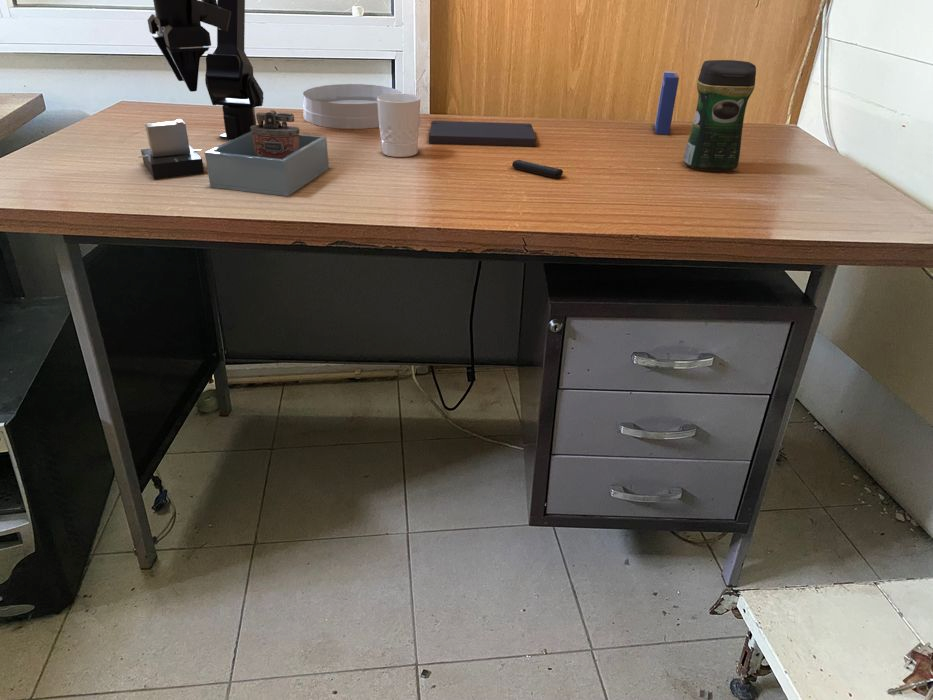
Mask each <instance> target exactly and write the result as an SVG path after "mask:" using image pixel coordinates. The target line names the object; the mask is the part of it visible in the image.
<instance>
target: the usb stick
mask: <svg viewBox="0 0 933 700" xmlns="http://www.w3.org/2000/svg"><path fill="white" fill-rule="evenodd" d="M512 168H513V169H515V170H516V169H517V170H520V171H525V172H528V173H533V174H536V175H541V176H545V177H549V178H553V179H559V178H561V177H562V176H563V173H564V171H563V168H558V167H553V166H548V165H544V164H539V163H536V162H535V163H534V162H530V161H526V160H522V159H516V160H513V162H512Z"/></svg>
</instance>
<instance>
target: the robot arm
mask: <svg viewBox="0 0 933 700" xmlns="http://www.w3.org/2000/svg"><path fill="white" fill-rule="evenodd" d="M152 1H153V6H154V7H153V8H154V12H155V13H151V15H150V16H149V17H148V18H147V25H148V30H149V33H150V34H152V35H151V37H152V40H154V42H155V43H156V45H157V47H158V48H159V50H160V52H161V53H162V55H163V57H164V58H165V61H166V62H167V63H168V65H169V67H170V69H171V71H172V73H173V74H174V76H175V77H176V79H177V81H179V82H184V83H185V85H186V87H187V89H188V91H189V92H197V91H198V83H199V82H198V81H199V70H200V60H201V58H202V57H203V55H204V54H205V53H206V52H208V51H209V50H210V47H211V46H212V40H211V34H210V32H209V31H208V29H206V28H205V27H203V25H201V24H202V23H203V24H207V25H208V26H209V25H210V26H212V27H215V28H216V47H215V49H214V50H213V52H212V53H207V54H206V57H205V67H206V68H205V74H204V75H205V77H204V81H205V87H206V90H207V93H208V95H209V98H210V102H211V104H212V106H222V114H223V115H222V117H223V123H224V124H223V125H224V130H225V133H222V134H220V135H219V138H220V139H224V140H233V139H235V138H237V137H239V136H242V135H244V134H246V133H248V132H250V131H251V129H250V127H251V126H253V125H257V118H256V110H255V109H256V108H257V107H262V106H263V104H264V91H263V89H262V88H261V85H259V82H258V80H257V79H256V78H255V77H254V66H253V65H252V64H251V61H250V59H249V58H248V56H247V54H246V51H245V36H246V35H245V29H246V27H245V25H246V23H245V22H246V21H245V19H246V18H245V17H246V0H152Z"/></svg>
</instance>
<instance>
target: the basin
mask: <svg viewBox="0 0 933 700" xmlns="http://www.w3.org/2000/svg"><path fill="white" fill-rule="evenodd" d="M299 142H300V149H299V150H297V151H295V152H294V153H292V154H290V155H288V156H287V157H285V158H283V159H277V158H267V157H258V156H255V152H254V144H253V136H252V133H251V131H250V132H248V133H246V134H244V135H242V136H239V137H237V138H235V139H230V140H229V141H226V142H225V143H222V144H220V145H217V146H215V147H213V148H211V149H208V150H207V151H205V152H204V156H205V157H204V158H205V164H206V170H207V176H208V182H209V187H210V188H215V189H222V190H232V191H240V192H249V193H258V194H266V195H273V196H275V195H276V196H283V197H289V196H291V195H292V194H294V193H295V192H297V191H298V190H300V189H301V188H303V187H304V186H305V185H307V184H309V183H310V182H311V181H314V179H316V178H318V177H319V176H320V175H322V174H323V173H325V172H326V171H328V170H329V169H330V167H329V152H328V138H327V136H324V135H315V134H314V135H313V134H312V135H311V134H306V133H305V134H304V133H299Z"/></svg>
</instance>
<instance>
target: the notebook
mask: <svg viewBox="0 0 933 700" xmlns="http://www.w3.org/2000/svg"><path fill="white" fill-rule="evenodd" d="M428 144H439V145H441V144H443V145H471V146H472V145H473V146H475V145H476V146H477V145H478V146H504V147H505V146H506V147H536V145H537V138H536V134H535V131H534V128H533V126H532V124H531V123H523V122H522V123H521V122H519V123H518V122H490V121H489V122H488V121H461V120H460V121H458V120H457V121H455V120H454V121H453V120H432V121H431V124H430V127H429V134H428Z"/></svg>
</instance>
